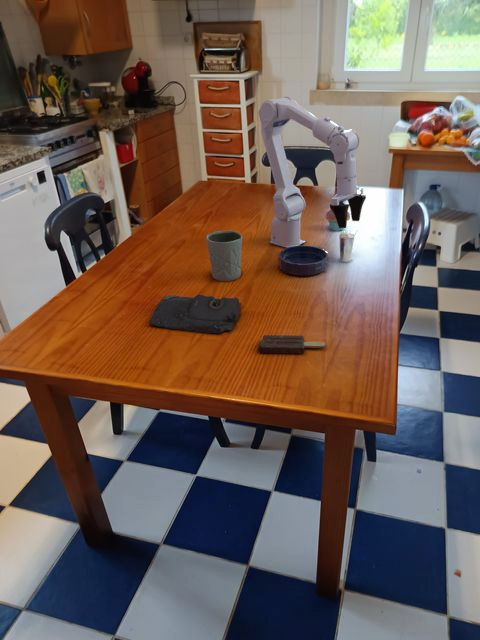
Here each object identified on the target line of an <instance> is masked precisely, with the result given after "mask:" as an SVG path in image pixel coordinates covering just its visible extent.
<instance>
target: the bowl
mask: <svg viewBox="0 0 480 640" xmlns="http://www.w3.org/2000/svg"><path fill="white" fill-rule="evenodd" d="M278 267H279V269H280V270H281V271H283V272H284V273H285V274H289V275H293V276H297V277H298V276H300V277H305V276H306V277H307V276H314V275H318V274H321V273H323V272H324V271H326V270H327V269H328V267H329V252H328V251H326V249H323V248H321V247H318V246H314V245H299V246H292V247H288V248H286V247H284V248H283V249H282V250H281V251H279V253H278Z"/></svg>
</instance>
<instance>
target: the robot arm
mask: <svg viewBox="0 0 480 640" xmlns="http://www.w3.org/2000/svg"><path fill="white" fill-rule="evenodd" d="M257 115H258V118H259V121H260V127H261V128H260V130H261V136H262V141H263V144H264V148H265V152H266V156H267V159H268V162H269V166H270V170H271V173H272V177H273V181H274V185H275V188H276V191H275V193H274V195H273V197H272V201H273V212H274V216H273V217H272V220H271V224H270V227H271V228H270V229H271V230H270V233H271V241H269V244H272V245H275V246H278V247H279V246H280V247H283V248H288V247H292V246H302V245H303V244H305V243H306V240H304V239H301V219H302V218H301V217H302V214H303V212H304V211H305V209H306V200H305V198H304V197H303V195H302V193H301V190H300V188H298V187H297V186H296V185H294V182H293V178H292V174H291V170H290V167H289V163H288V158H287V155H286V150H285V148H284V143H283V141H282V137H281V133H282V132H283V129H284V127H285V126H286V125H287V124H288V123H289V122H290V121H291V120H292V121H294V122H296V123H298V124H300V125H302V126H303V127H305V128H307V129H309V130H311V131H312V136H313V137H314V138H315V139H317V140H319V142H322V144H325V145H326V146H328V147H329V149H330V151H331V153H332V154H333V160H334V161H335V174H336V190H337V193H336V194H335V195H333V197H331V198H330V201H331V203H330V204H329V210H332V211H333V213H334V215H335V217H336V220H337V223H338V226H339V228H344V229H347V223H348V221H347V212H349V211H348V210H350V218H351V221H352V222H359V221H360V219H361V215H362V209H363V206H364V204H365V201H366V198H367V195H366V194H364V186H358V175H357V173H358V172H357V154H356V153H357V152H356V150H357V149H358V147H359V144H360V137H359V135H358V133H357V132H356V131H355V130H354V129H351V128H350V129H345V128H344V126H343V125H338V124H336V123H335V122H333V121H332V118H331V117H329V116H326V117H325V116H321V117H320V118H318V117H317V116H315V115H314V114H313V113H311V112H310V111H309V110H307V109H305V108H304V107H303V106H301V105H300V104H298V101H297V100H295V99H293V98H291V97H289V96H283V97H280V98H274V99H265V100H264V101H262V103H261V104H260V107H259V109H258V113H257ZM345 202H348V203H345Z"/></svg>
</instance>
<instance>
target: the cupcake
mask: <svg viewBox="0 0 480 640" xmlns="http://www.w3.org/2000/svg"><path fill="white" fill-rule="evenodd" d="M325 219H326V220H327V221H328V223H329V224H328V225H329V227H330V230H332V231H342V230H344V229H345V228H339V226H338V223H337V220H336V217H335V215H334V213H333V211H332V210H331V209H329V210H328V211H327V212H326V213H325ZM350 219H351V212H350V211H348V212H347V222H348V221H349V220H350Z"/></svg>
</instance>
